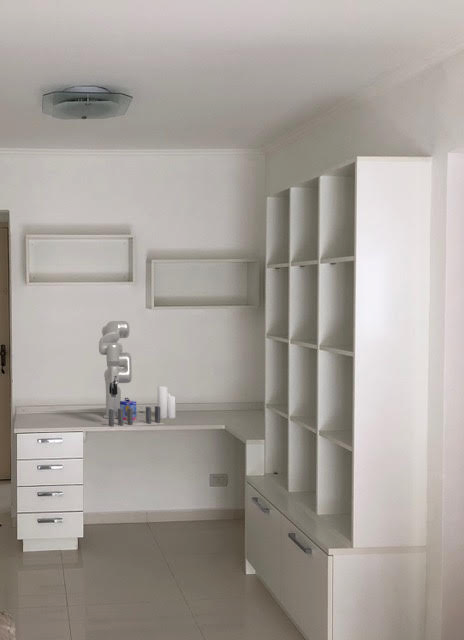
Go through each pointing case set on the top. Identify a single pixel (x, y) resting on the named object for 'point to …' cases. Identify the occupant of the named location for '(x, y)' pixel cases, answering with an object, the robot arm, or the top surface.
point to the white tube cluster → (166, 403)
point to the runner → (134, 424)
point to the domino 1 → (111, 417)
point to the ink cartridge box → (128, 404)
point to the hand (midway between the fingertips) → (113, 393)
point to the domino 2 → (120, 416)
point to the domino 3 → (129, 416)
